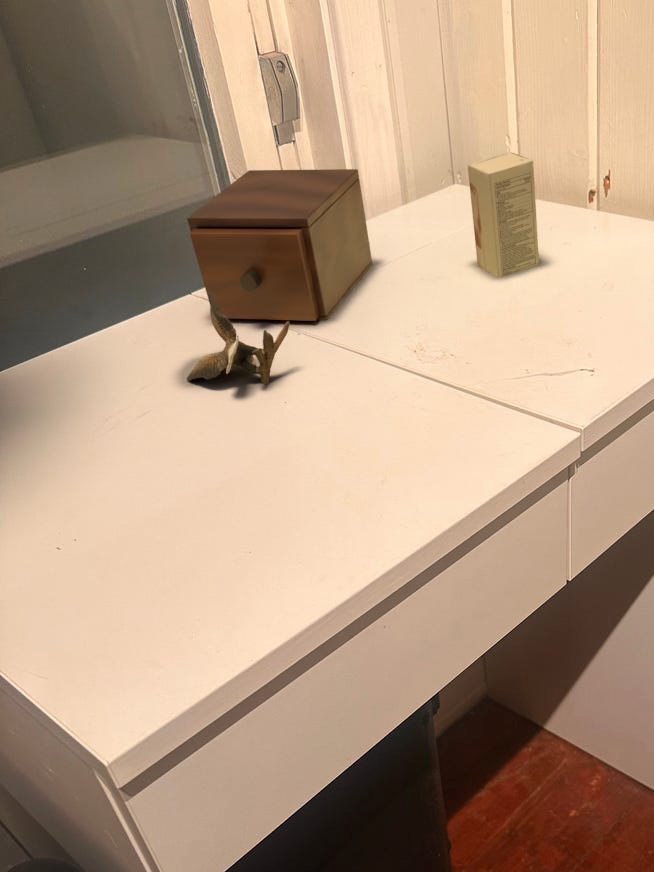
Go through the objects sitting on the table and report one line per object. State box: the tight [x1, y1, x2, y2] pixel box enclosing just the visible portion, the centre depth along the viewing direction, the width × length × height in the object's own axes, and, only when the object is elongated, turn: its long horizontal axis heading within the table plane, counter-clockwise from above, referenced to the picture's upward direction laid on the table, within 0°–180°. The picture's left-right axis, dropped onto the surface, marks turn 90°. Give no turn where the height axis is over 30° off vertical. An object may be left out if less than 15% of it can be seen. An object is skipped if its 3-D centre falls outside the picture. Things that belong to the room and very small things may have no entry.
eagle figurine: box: [186, 292, 291, 386], centre depth 77 cm, size 8×7×9 cm
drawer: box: [189, 227, 319, 322], centre depth 86 cm, size 14×10×8 cm
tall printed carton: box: [467, 151, 540, 278], centre depth 88 cm, size 5×4×10 cm
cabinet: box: [186, 168, 373, 321], centre depth 88 cm, size 14×12×10 cm
